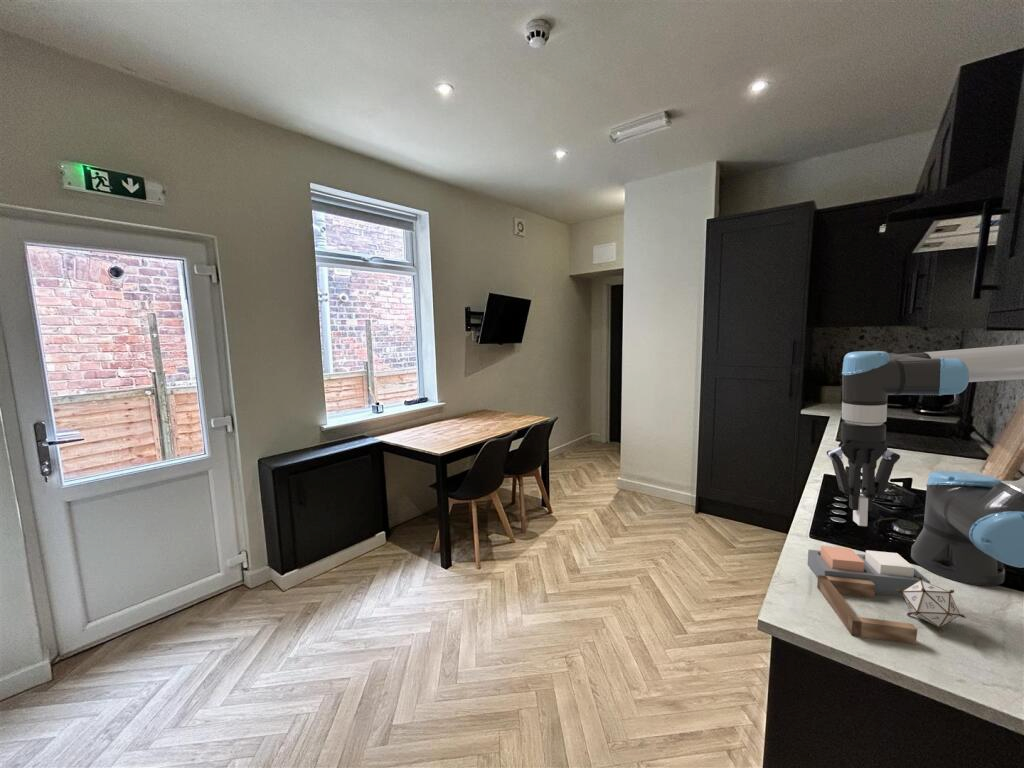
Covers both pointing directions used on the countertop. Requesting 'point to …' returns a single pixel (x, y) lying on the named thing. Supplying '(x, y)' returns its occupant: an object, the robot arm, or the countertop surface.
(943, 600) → the game die
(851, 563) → the terracotta key
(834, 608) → the walnut bracket
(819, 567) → the key panel
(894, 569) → the ivory key
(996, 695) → the countertop surface
